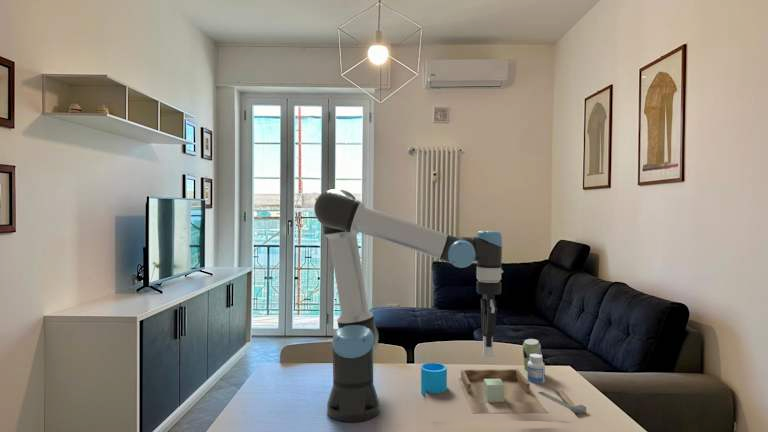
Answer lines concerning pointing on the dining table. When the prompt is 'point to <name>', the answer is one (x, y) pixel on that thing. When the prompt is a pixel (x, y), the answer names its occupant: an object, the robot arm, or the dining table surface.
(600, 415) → the dining table surface
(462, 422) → the dining table surface
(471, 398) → the cubby deck
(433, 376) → the mug
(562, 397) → the dowel
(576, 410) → the crook tool
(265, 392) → the dining table surface
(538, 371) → the pill bottle
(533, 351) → the beverage can
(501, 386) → the block
